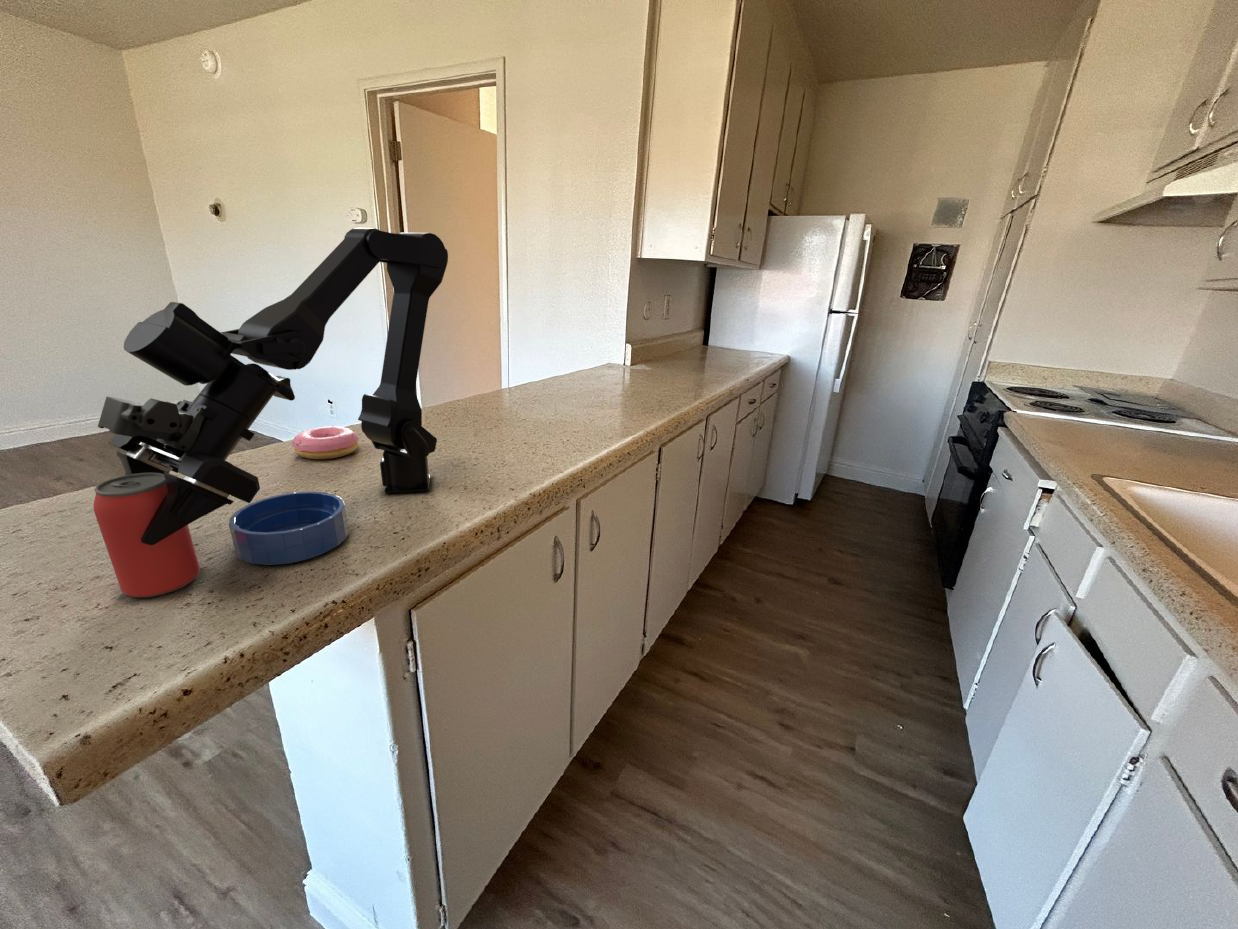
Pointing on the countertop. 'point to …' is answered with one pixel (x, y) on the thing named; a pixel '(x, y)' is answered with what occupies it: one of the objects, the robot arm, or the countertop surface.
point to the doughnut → (325, 442)
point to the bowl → (289, 527)
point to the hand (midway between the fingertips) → (129, 534)
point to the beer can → (123, 523)
